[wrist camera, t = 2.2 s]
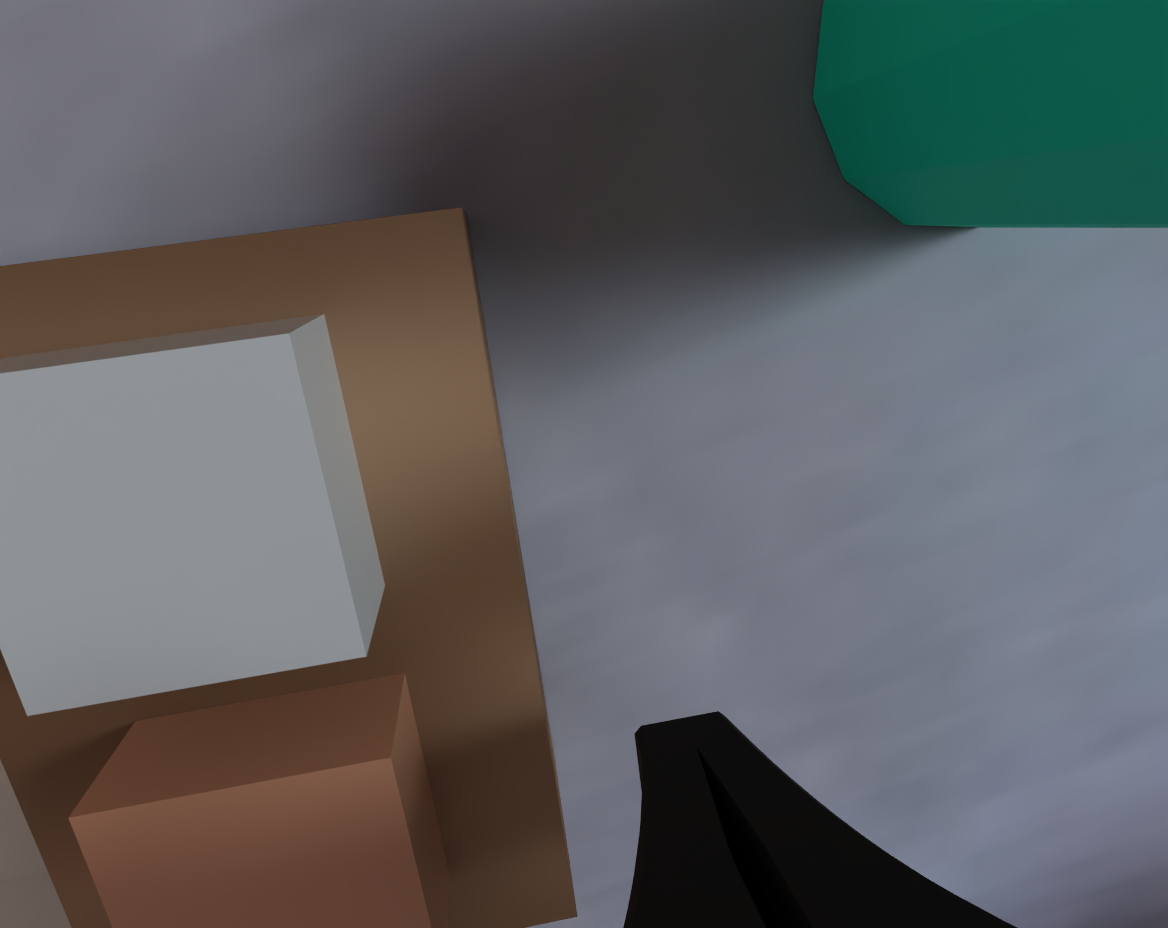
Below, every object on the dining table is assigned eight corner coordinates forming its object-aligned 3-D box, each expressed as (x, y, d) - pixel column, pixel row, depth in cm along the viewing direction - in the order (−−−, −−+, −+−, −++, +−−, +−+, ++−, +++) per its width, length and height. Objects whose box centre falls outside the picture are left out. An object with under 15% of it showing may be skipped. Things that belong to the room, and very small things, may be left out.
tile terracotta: (450, 877, 13) (445, 987, 11) (208, 925, 13) (161, 1047, 11) (404, 673, 12) (390, 757, 10) (135, 720, 12) (67, 818, 10)
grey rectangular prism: (384, 585, 11) (366, 657, 10) (103, 632, 11) (26, 716, 9) (324, 314, 10) (289, 332, 8) (5, 357, 10) (-105, 387, 8)
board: (556, 767, 18) (577, 916, 14) (191, 837, 17) (108, 1014, 13) (465, 212, 14) (460, 207, 10) (-4, 273, 13) (-199, 291, 9)
